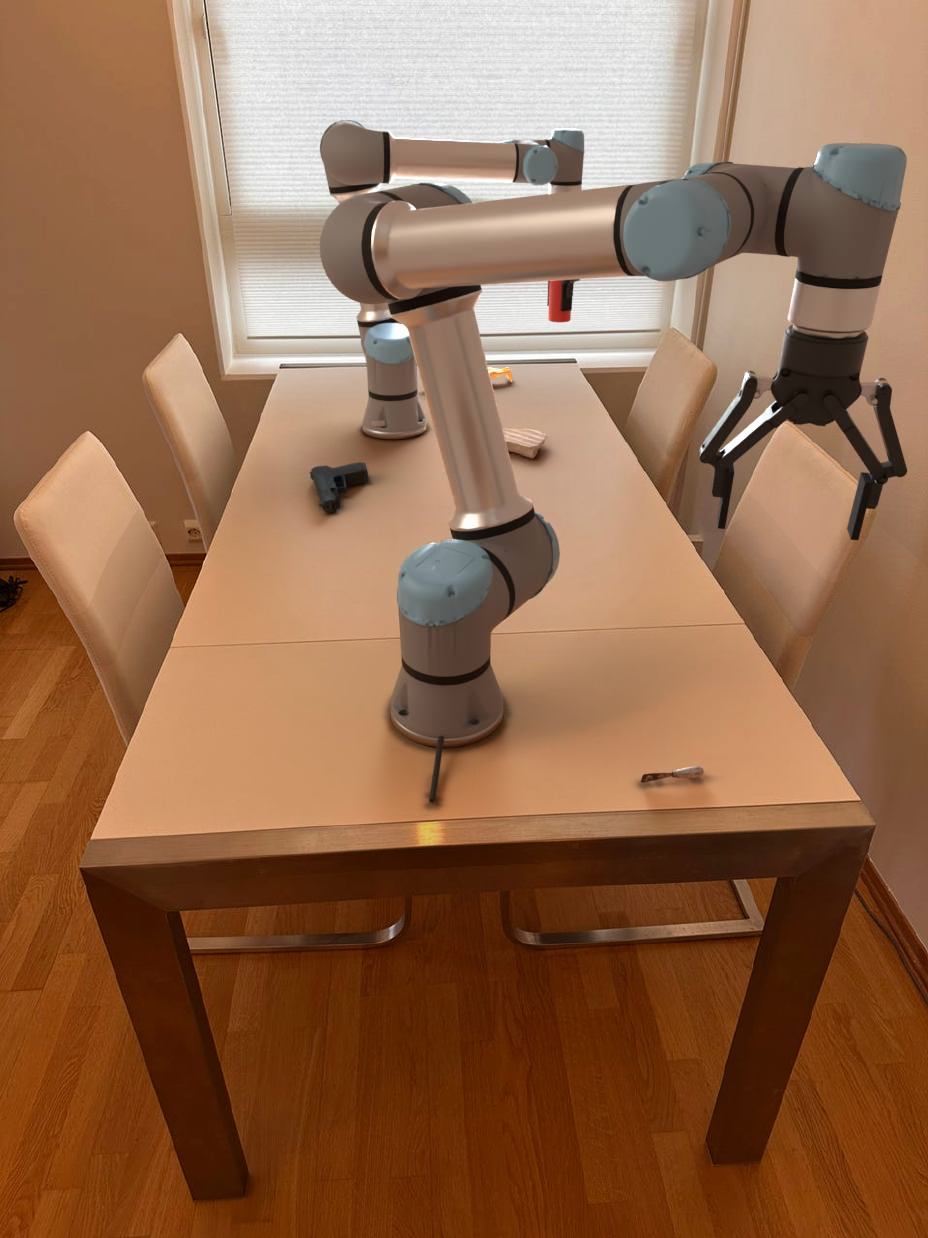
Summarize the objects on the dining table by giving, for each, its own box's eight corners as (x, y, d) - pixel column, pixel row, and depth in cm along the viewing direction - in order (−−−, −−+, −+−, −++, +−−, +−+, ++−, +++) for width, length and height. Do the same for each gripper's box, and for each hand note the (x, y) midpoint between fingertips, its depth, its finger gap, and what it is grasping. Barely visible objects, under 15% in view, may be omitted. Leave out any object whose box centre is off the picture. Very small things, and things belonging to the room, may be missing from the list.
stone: (551, 440, 207) (551, 430, 205) (534, 459, 197) (534, 448, 196) (499, 434, 211) (499, 423, 210) (480, 451, 202) (480, 440, 200)
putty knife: (703, 777, 109) (705, 767, 109) (642, 788, 108) (644, 777, 107) (700, 772, 110) (702, 762, 109) (639, 782, 109) (640, 771, 108)
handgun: (380, 507, 177) (320, 515, 174) (365, 473, 191) (308, 479, 188) (379, 493, 175) (318, 500, 172) (364, 459, 189) (307, 465, 186)
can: (561, 315, 224) (563, 268, 218) (575, 320, 220) (577, 271, 214) (543, 318, 221) (545, 270, 215) (557, 323, 217) (559, 274, 211)
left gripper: (600, 208, 201) (593, 314, 213) (557, 198, 215) (552, 298, 228) (572, 210, 198) (566, 317, 211) (530, 200, 212) (527, 301, 225)
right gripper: (958, 324, 86) (902, 523, 97) (693, 312, 90) (668, 504, 101) (980, 344, 79) (917, 555, 91) (693, 331, 84) (667, 534, 95)
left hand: (559, 307), depth 219 cm, fingers closed on can, 5 cm apart
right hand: (785, 529), depth 96 cm, fingers open, 13 cm apart
